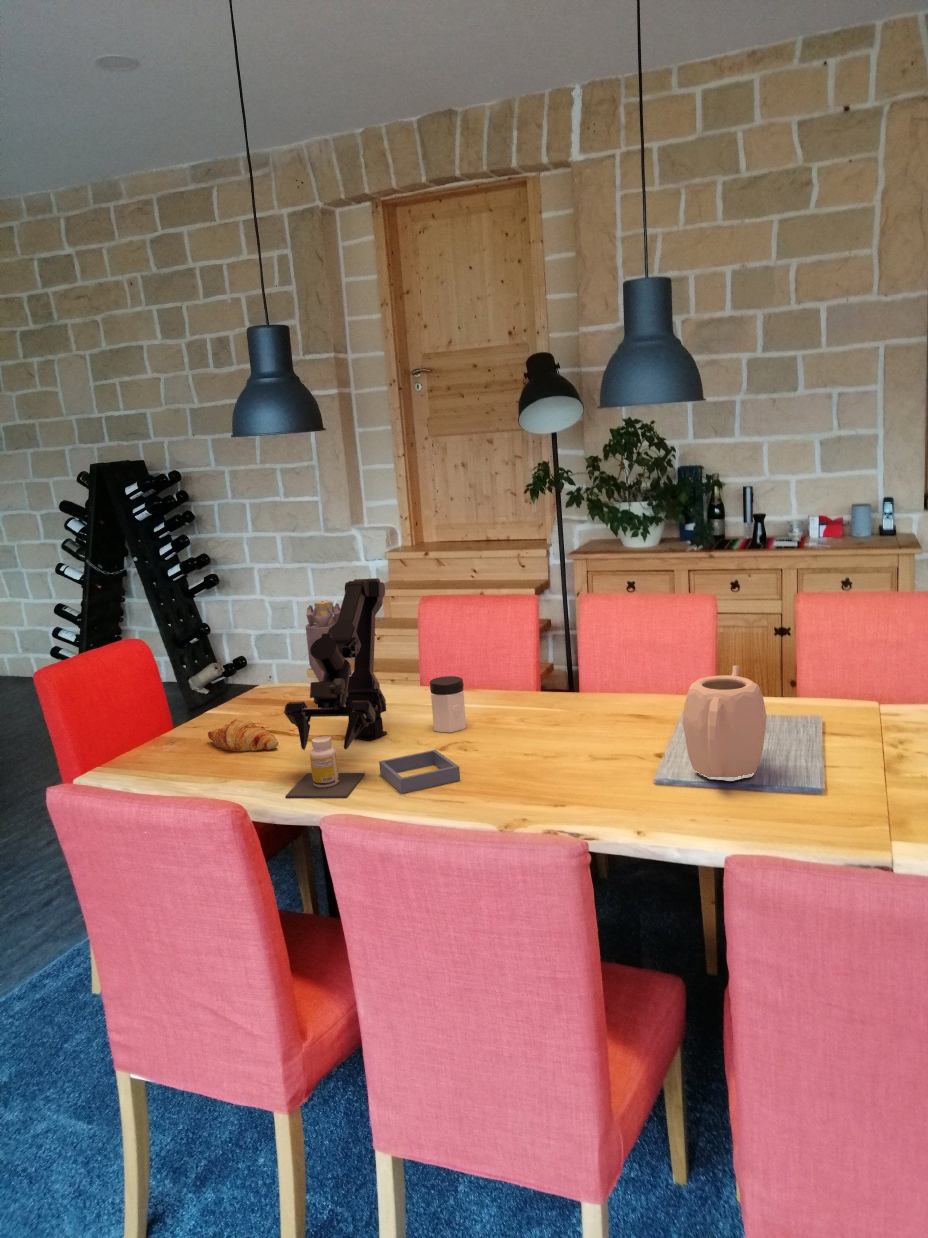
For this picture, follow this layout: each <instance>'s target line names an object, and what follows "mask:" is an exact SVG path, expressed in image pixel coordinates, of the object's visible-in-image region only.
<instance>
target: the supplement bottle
mask: <svg viewBox="0 0 928 1238" xmlns="http://www.w3.org/2000/svg"><path fill="white" fill-rule="evenodd" d="M311 746H312V749H311V750H310V752H309V758H310V767H311V773H312V777H313V784H314V786H316V787H320V788H325V787H331V786H334V785H336V784H337V783H338V782H339V774H338V773H339V767H338V757H337V751H336V748H335V746H334V747H333V746H332V738H331V737H330V736H329V735H321V736H316V737H313V738H312V739H311Z"/></svg>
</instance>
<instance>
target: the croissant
mask: <svg viewBox="0 0 928 1238" xmlns="http://www.w3.org/2000/svg"><path fill="white" fill-rule="evenodd" d="M207 737H208V739H209V740H210V741H212V743H213V744H214V745H215V747H218V748H221V749H223V750H226V751H233V752H238V753H240V752H254V751H255V752H256V751H262V750H265V751H268V750H273V749H276V748H277V747H278V746H279V741H278V738H276V737H275V735H274V734H272V733H270V731H269V730H268V729H266V727H264V726H261V725H260V726H259V725H258V726H257V725H256V724H255V723H253V722H252V721H249V720H245V719H237V718H236V719H234V720H232V721H231V722H230V723H229V724H225V725H223V726H222V727H221V728H216V729H214V730H210V731H208V732H207Z"/></svg>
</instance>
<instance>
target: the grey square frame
mask: <svg viewBox="0 0 928 1238" xmlns="http://www.w3.org/2000/svg"><path fill="white" fill-rule="evenodd" d="M378 763H379V775H380V776H381V777H382V778H383V779H385V781H386V782H387V783H388V784H390V785H391V786H392V787H393V788H394V789H395V790H396V791H397V792H399V793H400V794H401V795H402V794H407V793H410V792H411V793H412V792H415V791H419V790H424V789H429V788H433V787H438V786H442V785H446V784H451V783H455V782H459V781H461V771H460V770H461V769H460V766H459V765H457V764H456V763H455V762H454V761H452V760H451V759H450V758H448V757H447V756H445V755H444V754H442V753H441V752H440V751H438V750H437V749H432V750H426V751H421V752H417V753H411V754H408V755H403V756H399V757H394V758H390V759H389V758H388V759H384V760H379V761H378ZM433 765H435V766H436V767H437V768H438V769H436V770H431V771H427V772H421V773H417V774H413V775H408V776H404V777H402V776H401V775H400V774H399V773H401V772H402V773H403V772H406V771H410V770H414V769H419V768H420V769H421V768H424V767H429V766H433ZM437 785H438V786H437Z"/></svg>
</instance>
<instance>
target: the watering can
mask: <svg viewBox="0 0 928 1238" xmlns="http://www.w3.org/2000/svg"><path fill="white" fill-rule="evenodd" d="M740 667H741V666H740V665H732V672H731V674H729V675H725V674H724V675H711V676H705V677H700V678H699V679H697V680H695V681H694V682H692V683H691V684H690V686H689V688H688V690H687V694H686V697H685V700H684V707H683V715H682V726H683V733H684V738H685V744H686V749H687V750H686V751H687V754H688V757H689V761H690V764H691V767H692V770H693V769H694V770H695V771H697V772H699V773H700V774H703V775H705V776H707V777H738V776H743V775H748V774H752V773H755V774H756V772H757V770H758V768H757V767H759V764H760V761H761V757H762V754H763V751H764V750H763V749H764V743H765V736H766V735H765V734H766V729H767V711H766V705H765V704H766V703H765V700H764V697H763V694H762V691H761V688H760V686H759V684H757V682H754V681H753V680H751V679H749V678H747V677H742V676H739V670H740ZM694 770H693V771H694Z"/></svg>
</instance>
